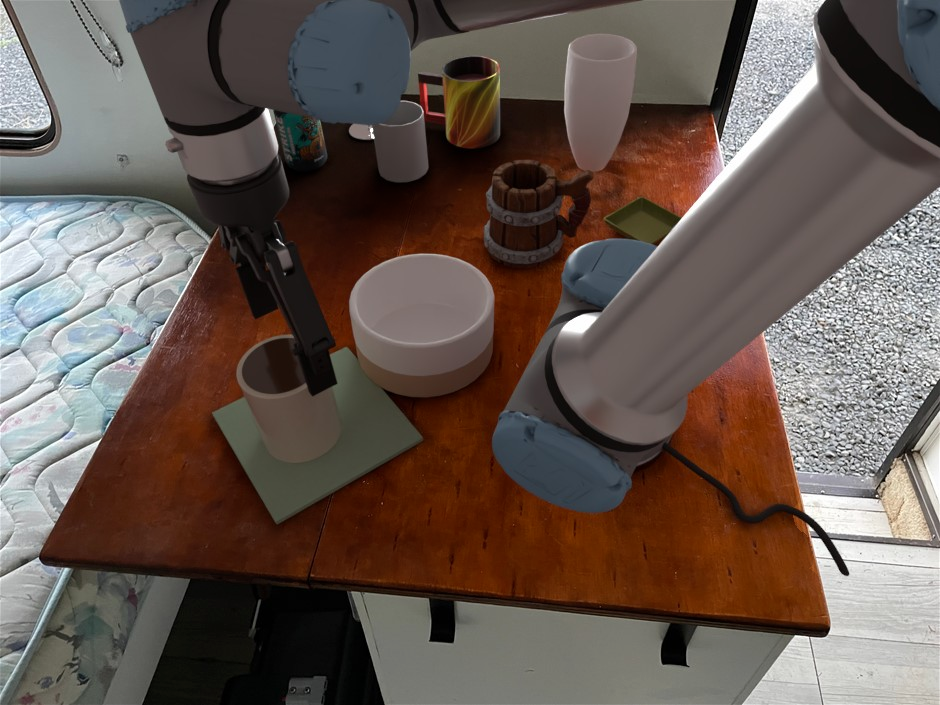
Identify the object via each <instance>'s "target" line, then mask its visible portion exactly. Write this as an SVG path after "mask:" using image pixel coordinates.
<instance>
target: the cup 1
mask: <svg viewBox="0 0 940 705" xmlns="http://www.w3.org/2000/svg"><path fill="white" fill-rule="evenodd" d="M372 128H373V135H374V140H373V141H374V148H375V155H376V161H377V168H378V172H379V176H380V177H382V178H383V179H385V181H387V182H388V181H389V182H393V183H409V182H413V181H416V180H419V179H421V178H423V176H425V175H426V174H427V172H428V170H429V158H428V146H427V136H426V134H427V133H426V121H424V112H423V109H422V107H421V106H420V104H418V103H416V102H413V101H408V100H400V105H399V107H398V109H397V110H396V112H395V113H394V114H393V115H392V116H391V117H390V118H389V119H387V120H386V121H384V122H382V123H380V124H376V125H372Z"/></svg>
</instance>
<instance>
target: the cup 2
mask: <svg viewBox="0 0 940 705" xmlns="http://www.w3.org/2000/svg"><path fill="white" fill-rule="evenodd" d="M566 55H567V58H566V65H565V75H564V100H563V102H564V106H563V113H564V120H565V127H566V133H567V139H568V140H567V141H568V142H569V146H570V150H571V154H572V156H573V159H574V160H575V161H574V162H575V163H576V166H577V168H579V170H581V171H583V172H584V171H586V170H590V171H592V172H593V173H596V172H600V171H603V170H604V169H605V168H606V167H607V165H608V164H609V162H610V161H611V159H612V157H613V155H614V153H615V151H616V149H617V148H618V146H619V143H620V141H621V138H622V135H623V132H624V129H625V127H626V124H627V121H628V118H629V114H630V109H631V108H630V107H631V103H632V97H633V93H634V86H635V77H636V67H637V57H638V46H637V45H636V44H635V42H634V41H633V40H631V39H629V38H627V37H625V36H622V35H618V34H613V33H591V34H585V35H581V36H579V37H577V38H575V39H574V40H573V41H571V42H570V43H569V45H568V49H567V54H566Z"/></svg>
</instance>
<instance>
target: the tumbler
mask: <svg viewBox="0 0 940 705" xmlns="http://www.w3.org/2000/svg"><path fill="white" fill-rule="evenodd" d="M294 343H297V342H296V340H295V338H294V336H293V334H281V335H274V336H272V337H269V338H266V339H264V340H262V341H260V342H258V343H256V344H255V345H252V346H251V347H250V348H249V349H248V350H246V352H245V353H243V355H242V357H241V358H240V359H239V362H238V364H237V367H236V373H235V375H236V380H237V384H238V386H239V388H240V391H241V394H242V397H244V398H245V401H246V403H247V405H248V408H249V410H250V413H251V415H252V418H253V420H254V423H255V425H256V427H257V430H258V432H259V435H260V437H261V440H262V442H263V444H264V447H265V449H266V450H267V452H268V453H269V454H270V455H271V456H273V457H274V458H276V459H278V460H280V461H283V462H288V463H302V462H307V461H311V460H314V459H316V458H318V457H320V456H322V455H324V454H325V453H326V452H328V451H329V450H330V449H331V448H332V447H333V446H334V445H335V444H336V442H337V441H338V439H339V437H340V434H341V431H342V420H341V416H340V412H339V409H338V405H337V401H336V397H335V394H334V390H333V386H332V387H330V388H328V389H326V390H324V391H323V392H321V393H319V394H317V395H315V396H313V397H312V395H311V394H310V393H309V391H308V388H307V384H306V381H305V378H304V375H303V372H302V369H301V366H300V363H299V360H298V357H297V355H296V356H294V355H293V353H292V352H291V350H292V349H294V348H295V347H294Z"/></svg>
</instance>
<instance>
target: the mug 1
mask: <svg viewBox="0 0 940 705" xmlns="http://www.w3.org/2000/svg"><path fill="white" fill-rule="evenodd" d="M500 69H501V66H500V64H499V62H497V61H496V60H495V59H492V58H490V57H486V56H480V55H466V56H459V57H456V58H453V59H451V60H449V61H447V62H446V63H444V64H443V66H442V68H441V73H436V72H435V73H434V72H427V71H419V72H418V73H417V81H418V91H419V106H421V107H422V109H423V112H424V122H425V123H433V124H439V125H445V136H446V140H447V141H448V142H449V143H450V144H451V145H454V146H456V147H459V148H463V149H480V148H484V147H488V146H491V145H492V144H494V143H496V142H497V141H498V140H499V139H500V136H501V72H500V71H501V70H500ZM427 85H432V86H439V87H442V89H443V90H442V92H443V104H444V105H443V106H444V113H440V112H435V111H429V103H428V89H427Z"/></svg>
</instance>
